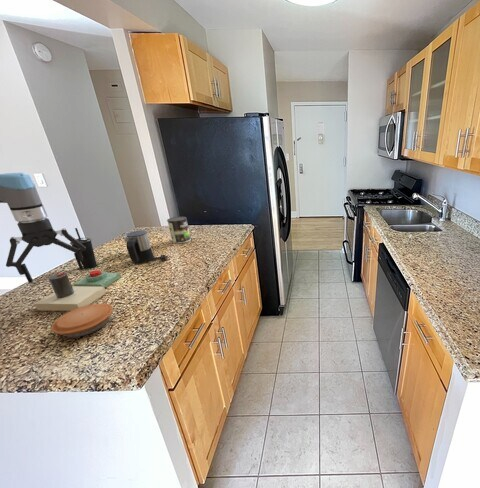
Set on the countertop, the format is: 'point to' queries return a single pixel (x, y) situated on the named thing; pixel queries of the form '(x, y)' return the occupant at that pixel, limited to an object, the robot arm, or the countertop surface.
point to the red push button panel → (98, 280)
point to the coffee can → (179, 229)
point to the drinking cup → (86, 252)
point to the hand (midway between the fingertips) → (57, 275)
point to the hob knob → (61, 285)
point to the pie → (83, 320)
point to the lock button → (95, 273)
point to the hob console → (71, 299)
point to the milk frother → (140, 247)
